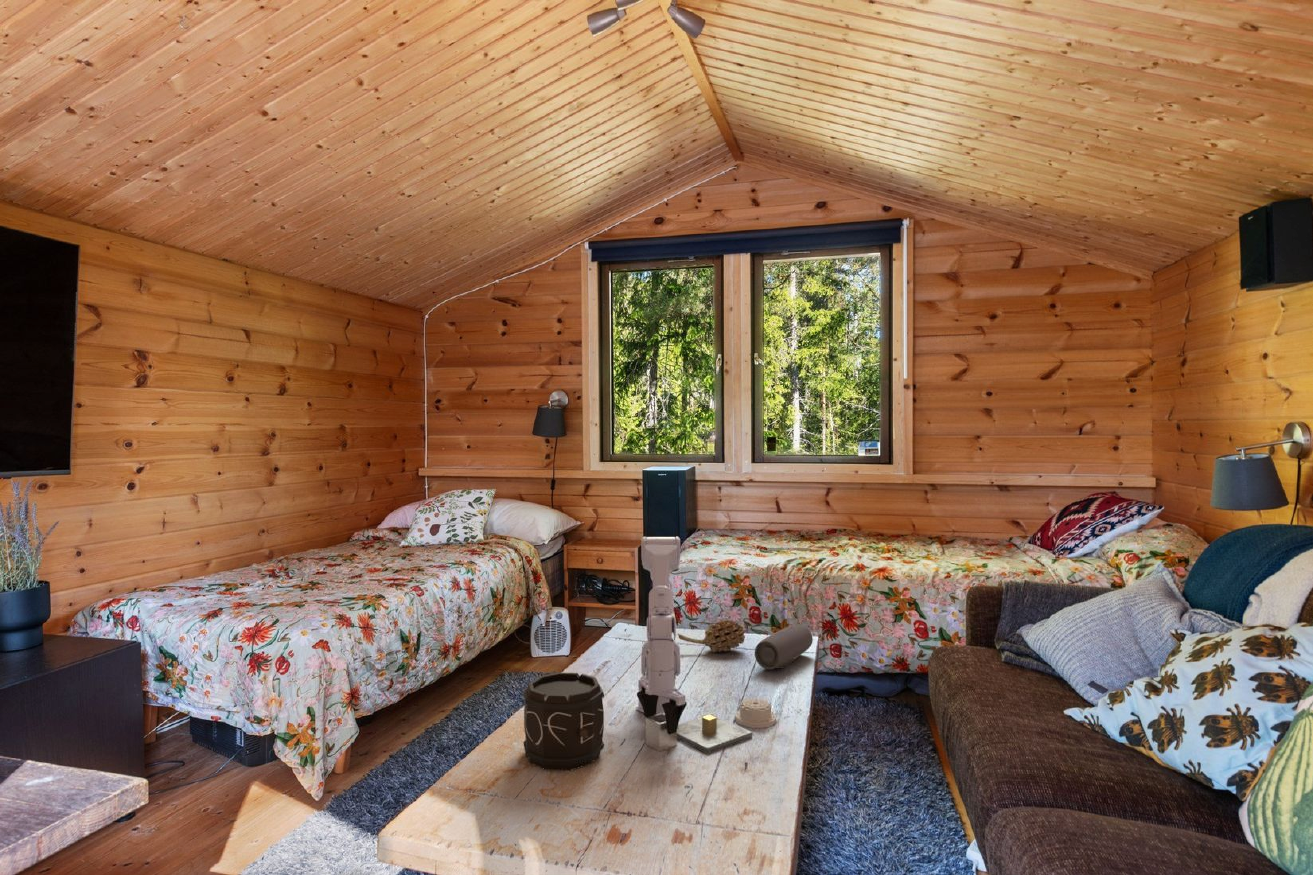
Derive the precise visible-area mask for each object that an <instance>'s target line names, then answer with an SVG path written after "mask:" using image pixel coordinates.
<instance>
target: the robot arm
mask: <svg viewBox="0 0 1313 875" xmlns="http://www.w3.org/2000/svg"><path fill="white" fill-rule="evenodd" d="M640 542H641V543H640V544H641V549H640V550H641V552H640V553H641V557H640V558H641V565H642V567H643V569H644V570H646V571H648V572H649V573H650V576H651V579H652V589H651V590H650V591H649V593H648V617H647V618H646V639H647V640H646V641H645V642H643V644H642V646H641V659H640V660H641V664H640V665H641V668H640V669H641V670H640V671H641V677H640V678H639V679H638V684H637V685H638V689H637V690H638V692H636V697H637V698H638V702H637V703H638V706H636V707H635V710H637V711H639V712H641V713H643V714H644V718H645V720H646V717H650V716H653V715H656V714H659V713H665V717H666V727H667V733H668V734H669V735H670V734H673V733H676V731H677V727H678V725H679V724H680V723H679V722H680V720H681V716H682V714H683V712H684V710H685V709H686V707H687V705H688V704H687V700H686V695H685V694H683V693H682V692H681V691H680V690H679V689H677V687H676V677H679V676H680V675H681V651H680V645H679V643H678V642H677V641H676V636H677V621H676V615H675V611H674V593H673V591H672V589H670V576H671V574H672V572H673V571H675V570H677V569H679V566H680V560H681V538H680V537H679V536H643V537H642V538H641V541H640ZM672 634H673V635H672ZM672 636H673V637H672Z"/></svg>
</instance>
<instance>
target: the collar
mask: <svg viewBox="0 0 1313 875" xmlns="http://www.w3.org/2000/svg"><path fill="white" fill-rule="evenodd" d="M645 745H646V746H649V747H650V748H652V749H654V750H656V751H658V752H662V751H664V750H668V749H670V748H674V747H676V746H677V745H678V739H677V731H676V733H673V734H670V735H669V734H668V733H667V727H666V717H665V713H659V714H656V715H653V716H650V717H646V719H645Z"/></svg>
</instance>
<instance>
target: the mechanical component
mask: <svg viewBox="0 0 1313 875" xmlns="http://www.w3.org/2000/svg"><path fill="white" fill-rule="evenodd" d="M739 705H740V707H739V710H737V711H735V714H734V716H735V718H734V719H735V722H736V723H737V724H739V726H740V725H741V726H743V727H747V728H751V729H752V728H754V729H764V728H769V727H772V726H774V725H776V723H777V715H776V714H775V712H774V711H772V704H771V703H770V702H768V700H764V699H761V698H749V699H748V698H746V699H745V700H742V701H740V704H739Z"/></svg>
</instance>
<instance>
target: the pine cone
mask: <svg viewBox="0 0 1313 875" xmlns="http://www.w3.org/2000/svg"><path fill="white" fill-rule="evenodd" d="M745 634H746V633H745V628H744V627H743V626H742V624H739V622H738V621H736V622H734V621H733V620H728V619H724V620H722V619H720V620H719V621H716V623H715V624H711V625H709V626H708V628H707V629H705V631H704V635H705V636H704V638H703V639H697V638H691V637H688V636H685V635H683V634H680V633H676V636H677V637H678V639H680V641H684V642H687V643H693V644H698V645H705V646H706V647H708V648H709V650H710V651H711V652H712V653H716V652H718V653H721V652H722V651H723V652H727V651H729V652H730V651H731V650H732V649H735V648H738V647H740V645H742V644H744V642H745V639H746V638H745V637H746V636H745Z"/></svg>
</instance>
